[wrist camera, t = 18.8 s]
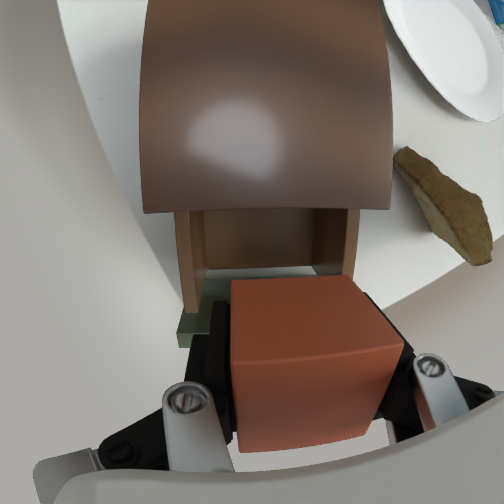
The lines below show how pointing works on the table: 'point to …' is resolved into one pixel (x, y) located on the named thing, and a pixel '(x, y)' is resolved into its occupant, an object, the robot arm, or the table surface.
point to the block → (307, 361)
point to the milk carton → (498, 11)
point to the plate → (453, 52)
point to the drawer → (256, 251)
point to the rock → (448, 207)
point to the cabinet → (265, 106)
